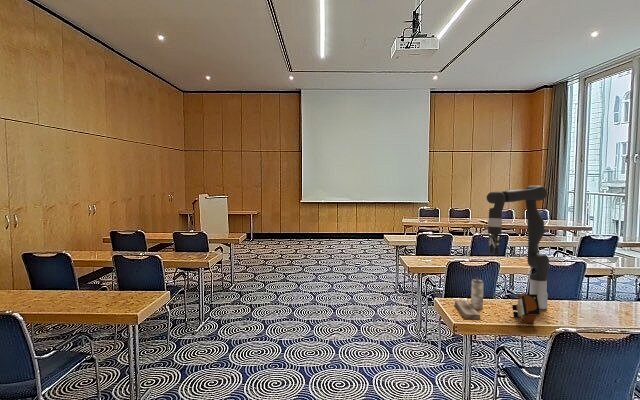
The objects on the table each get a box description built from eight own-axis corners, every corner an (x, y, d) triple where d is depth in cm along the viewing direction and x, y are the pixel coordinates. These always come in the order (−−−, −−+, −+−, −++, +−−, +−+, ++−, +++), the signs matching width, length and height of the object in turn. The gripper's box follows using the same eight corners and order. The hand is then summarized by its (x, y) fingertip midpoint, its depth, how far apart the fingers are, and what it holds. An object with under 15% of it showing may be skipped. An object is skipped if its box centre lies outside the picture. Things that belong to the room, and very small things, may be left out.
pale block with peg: (480, 306, 264) (481, 277, 263) (482, 309, 258) (483, 279, 257) (471, 306, 264) (471, 276, 264) (473, 308, 258) (474, 278, 258)
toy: (510, 297, 247) (525, 289, 229) (520, 297, 247) (535, 289, 229) (515, 325, 241) (530, 319, 223) (525, 326, 240) (541, 320, 222)
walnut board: (468, 305, 266) (468, 301, 266) (480, 319, 237) (480, 314, 237) (454, 304, 267) (455, 300, 267) (465, 318, 238) (465, 314, 238)
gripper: (505, 227, 243) (504, 255, 243) (497, 225, 257) (496, 252, 257) (492, 226, 243) (490, 255, 244) (484, 224, 257) (483, 251, 258)
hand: (493, 253), depth 250 cm, fingers open, 8 cm apart
